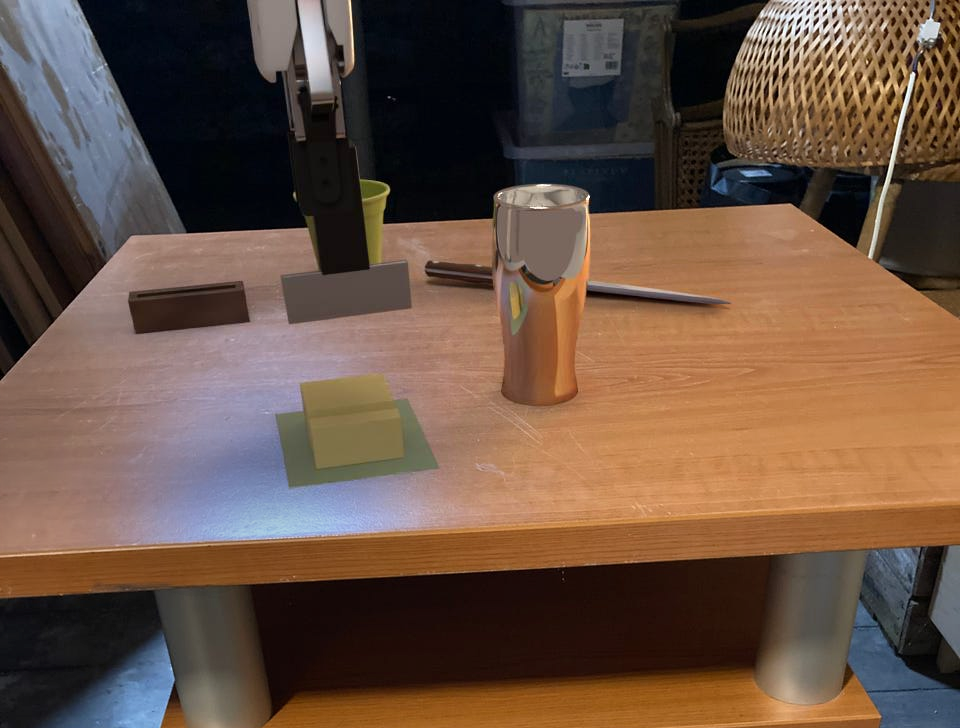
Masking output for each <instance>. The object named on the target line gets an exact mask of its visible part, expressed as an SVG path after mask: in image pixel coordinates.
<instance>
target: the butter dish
mask: <svg viewBox="0 0 960 728" xmlns="http://www.w3.org/2000/svg"><path fill="white" fill-rule="evenodd" d="M394 407H395V408H397V409H398V411H399V413H400V416H401V422H402V434H403V447H404V458H398V459H391V460H383V461H376V462H368V463H360V464H353V465H345V466H338V467H330V468H323V469H316V465H315V461H314V455H313V451H312V449H311V444H310V440H309V436H308V432H307V427H306V423H305V417H304V410H299V411H291V412H282V413H275V418H276V424H277V429H278V435H279V439H280V440H279V442H280V447H281V451H282V456H283V463H284V468H285V474H286V479H287V484H288V489H290V490H291V489H298V488H305V487H312V486H321V485H328V484H336V483H342V482H349V481H350V482H351V481H357V480H365V479H373V478H378V477H387V476H388V477H389V476H395V475H403V474H409V473H417V472H423V471H430V470H439V469H440V466H439V463H438V462H437V459H436V457H435V455H434V453H433V451H432V449H431V447H430V444H429V443H428V440H427V438H426V436H425V433H424V431H423V429H422V426H421V424H420V422H419V420H418V418H417V415H416V413H415V411H414V409H413V407H412V405H411V402H410V400H409V397H406V398H397V399H394Z"/></svg>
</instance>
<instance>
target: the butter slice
mask: <svg viewBox="0 0 960 728" xmlns="http://www.w3.org/2000/svg"><path fill="white" fill-rule="evenodd" d="M309 427H310V434H311V441H312V448H313V455H314V461H315V465H316V469H323V468H330V467H338V466H345V465H353V464H360V463H368V462H376V461H383V460H391V459H398V458H404V447H403V434H402V422H401V416H400V413H399V411H398V409H397V408H395V409H387V410H379V411H371V412H363V413H355V414H347V415H339V416H331V417H322V418H314V419H309Z"/></svg>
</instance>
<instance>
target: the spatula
mask: <svg viewBox="0 0 960 728" xmlns="http://www.w3.org/2000/svg"><path fill="white" fill-rule="evenodd" d="M348 141H349V151H350V161H351V171H352V181H353V191H354V201H355V208H354V210H353V211H352V212H349V213H339V214H328V215H317V216H312V222H313V228H314V235H315V242H316V249H317V256H318V262H319V267H320V270H319V269H318V270H313V271H311V270H310V271H303V272H296V273H288V274H287V273H286V274H281V275H280V281H281V282H280V283H281V288H282V293H283V298H284V299H283V300H284V304H285V309H286V310H285V311H286V316H287V323H288V325H295V324H303V323H311V322H318V321H326V320H334V319H342V318H349V317H357V316H358V317H359V316H364V315H365V316H366V315H373V314H379V313H387V312H396V311H401V310H402V311H403V310H411V309H412V308H413V301H412V293H411V282H410V271H409V262H408V259H401V260H394V261H384V262H381V263H376V264H370V263H369V254H368V246H367V237H366V229H365V220H364V212H363V203H362V194H361V186H360V180H361V177H360V169H359V162H358V161H359V160H358V153H357V152H358V151H357V146H356V144H355V143H354V142H353V141H352V140H351V139H350V140H349V139H348Z"/></svg>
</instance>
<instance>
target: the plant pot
mask: <svg viewBox="0 0 960 728" xmlns="http://www.w3.org/2000/svg"><path fill="white" fill-rule="evenodd" d="M360 186H361V194H362V203H363V212H364V220H365V229H366V237H367V246H368V254H369V263H370V264H376V263H383V262H382V259H383V258H382V257H383V226H384V211H385V209H386V205H387V197H388V196H389V194H390V192H391V188H390V186H389V185H388V184H387V183H384V182H381V181H376V180H371V179H370V180H368V179H360ZM292 196H293V199H294V201H295V202H297V200H296V195H295V191H294V192H293V194H292ZM298 205H299V204H298ZM299 207H300V205H299ZM303 217H304V219H305V223H306V225H307V230H308V233H309V237H310V238H309V239H310V241H311V244H312V249H313V252H314V256H315V261H316V264H317V268H318V271H319V270H320V267H319V262H318V256H317V249H316V242H315V235H314V228H313V222H312V216H305V215H303Z"/></svg>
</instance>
